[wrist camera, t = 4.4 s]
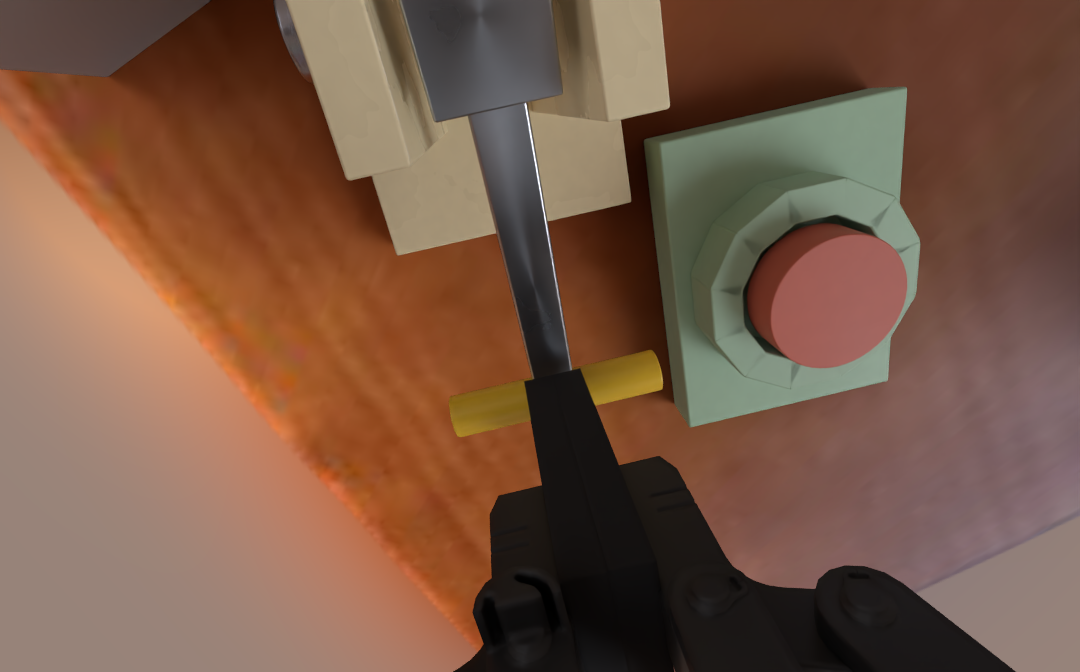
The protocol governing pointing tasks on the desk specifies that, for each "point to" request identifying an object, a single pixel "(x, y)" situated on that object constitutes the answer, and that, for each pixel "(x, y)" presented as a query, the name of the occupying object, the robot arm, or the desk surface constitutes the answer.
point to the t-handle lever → (511, 183)
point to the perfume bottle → (84, 32)
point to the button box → (768, 238)
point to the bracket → (448, 147)
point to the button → (827, 294)
